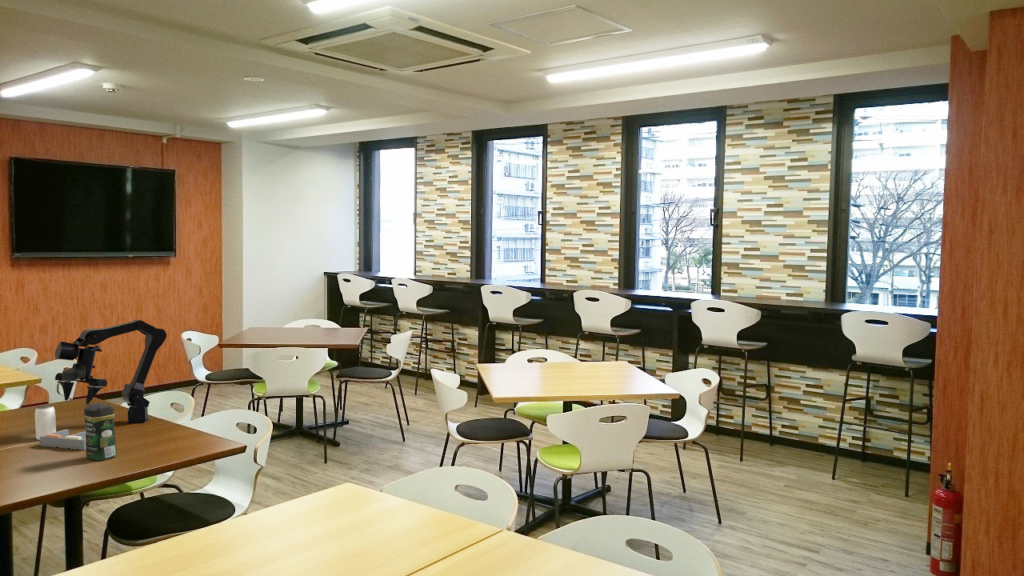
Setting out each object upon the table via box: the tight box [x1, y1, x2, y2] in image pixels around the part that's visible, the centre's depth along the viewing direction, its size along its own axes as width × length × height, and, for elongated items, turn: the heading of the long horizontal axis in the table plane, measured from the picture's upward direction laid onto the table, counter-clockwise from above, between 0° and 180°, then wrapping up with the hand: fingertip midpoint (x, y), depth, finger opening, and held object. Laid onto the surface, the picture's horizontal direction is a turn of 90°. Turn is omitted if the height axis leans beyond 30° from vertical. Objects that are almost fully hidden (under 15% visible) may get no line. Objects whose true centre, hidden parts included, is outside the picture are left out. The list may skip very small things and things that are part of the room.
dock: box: [39, 429, 86, 451], centre depth 269 cm, size 10×20×4 cm, turn 72°
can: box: [34, 404, 57, 441], centre depth 278 cm, size 6×6×12 cm
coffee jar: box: [83, 402, 117, 462], centre depth 251 cm, size 10×8×19 cm
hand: (76, 402), depth 286 cm, fingers open, 9 cm apart
